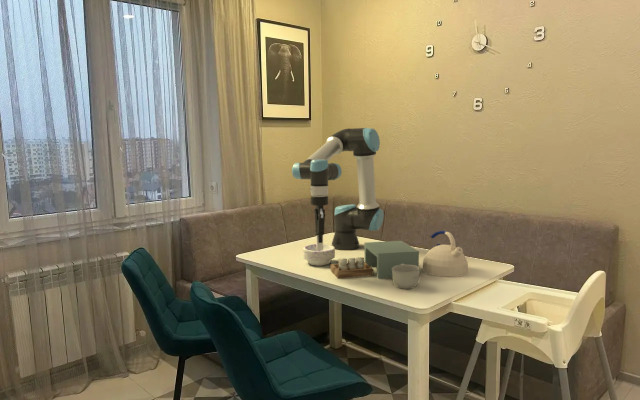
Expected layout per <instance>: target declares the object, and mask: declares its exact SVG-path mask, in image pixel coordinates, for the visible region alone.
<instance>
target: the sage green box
mask: <svg viewBox="0 0 640 400" xmlns="http://www.w3.org/2000/svg"><path fill="white" fill-rule="evenodd" d="M419 255H420V251H419V250H417V249H416V248H415V247H413V246H410V244H408V243H406V242H405V241H403V240H390V241H389V240H387V241H385V240H384V241H368V242H367V241H366V242H364V262H365V263H366V264H368V265H369V266H370V267H376V278H377V279H378V280H385V279H393V275H392V268H393V267H394V266H397V265H401V264H406V265H415V266H418V267H419V268H420V256H419Z"/></svg>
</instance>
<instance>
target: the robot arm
mask: <svg viewBox="0 0 640 400" xmlns="http://www.w3.org/2000/svg"><path fill="white" fill-rule="evenodd" d="M380 141H381V140H380V136H379V134H378V132H377V130H376V129H375V128H371V127H359V128H357V127H356V128H344V129H342V130H339V131H337V132H335V133H333V134H332V135H330V136H329V137H328V138H327V139H326V141H325V143H324V144H323V145H322V146H321V147H319V148H318V149H316V151H314V153H312V154H311V155H310V156H309V157H308V158H306V159H305V160H304V161H303V162H295V163H294V164H293V165H292V168H291V173H292V176H293V178H294V179H296V180H297V179H298V180H310V188H309V191H310V195H311V196H310V205H312V206H315V208H314V209H313V212H314V226H315V227H314V228H315V229H314V231H315V236H316V239H315V241H316V242H315V244H316V249H317V250H323V244H324V235H325V219H326V209H324V206H328V204H329V181H335V180H337V179H339V178H340V177H341V176H342V174H343V173H342V172H343V171H342V167H341V166H340V165H339V164H338V163H337V162H330V163H329V161H330V160H331V159H333V157H334V156H336V155H340V154H341V153H342V152H352V154H353V157H355V159H356V167H357V168H356V170H357V171H356V173H357V183H358V184H357V186H358V197H359V198H358V199H359V201H358V204H357V205H356V204H354V203H353V204H352V203H351V204H344V205H337V206H336V207H335V208H334V235H333V238H332V241H331V245H332V246H334V247H335V250H339V251H340V250H341V251H349V250H350V251H351V250H356V249H359V248H360V241H359V237H358V234H357V230H360V231H368V232H371V231H372V232H373V231H375V232H376V231H379V230H380V229H381V227H382V224H383V222H384V216H385V214H384V210H383V209H381V208H380V204H379V203H378V202H377V198H376V197H377V196H376V180H375V164H374V163H375V162H374V157H376V155H377V152H378V151H380V148H381V147H380V145H381V143H380Z"/></svg>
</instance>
